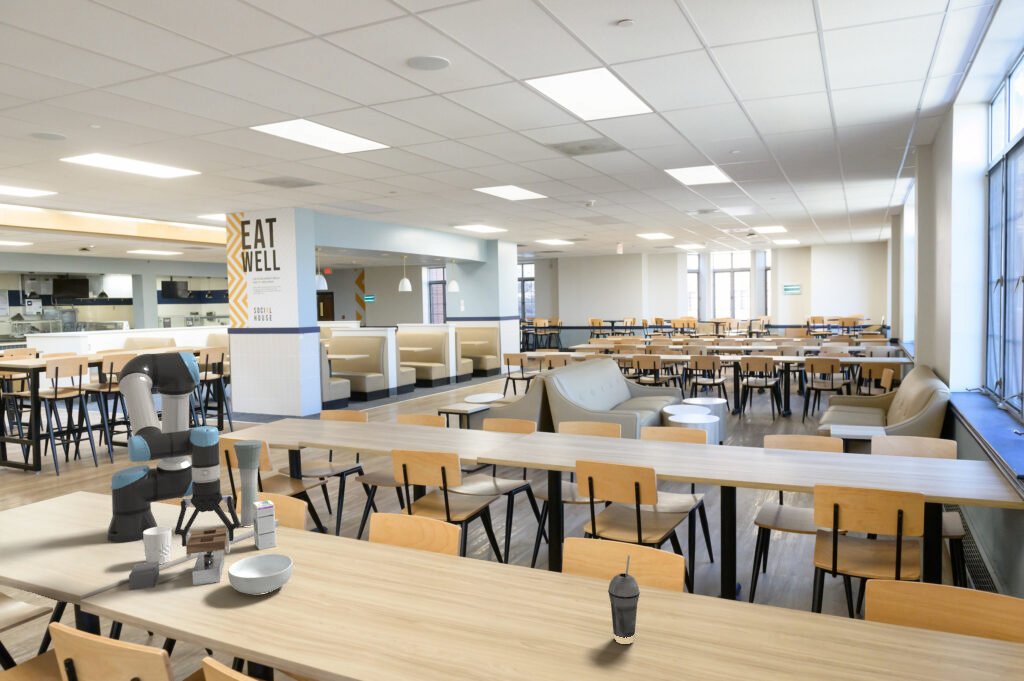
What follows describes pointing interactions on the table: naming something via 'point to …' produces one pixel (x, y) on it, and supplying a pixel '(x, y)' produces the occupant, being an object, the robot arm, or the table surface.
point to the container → (248, 477)
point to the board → (207, 540)
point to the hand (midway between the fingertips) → (208, 554)
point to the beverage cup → (624, 603)
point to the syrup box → (264, 524)
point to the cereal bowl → (260, 573)
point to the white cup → (158, 544)
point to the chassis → (208, 567)
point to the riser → (144, 575)
